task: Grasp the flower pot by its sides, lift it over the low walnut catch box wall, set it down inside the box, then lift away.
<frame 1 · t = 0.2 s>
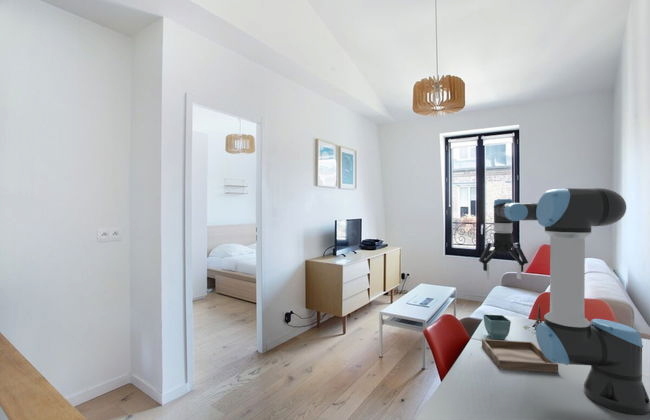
hand: (502, 278, 150), 26 cm above the table, fingers open, 13 cm apart
flower pot: (496, 337, 148), on the table
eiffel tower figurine: (538, 330, 158), on the table
catch box: (516, 358, 127), on the table
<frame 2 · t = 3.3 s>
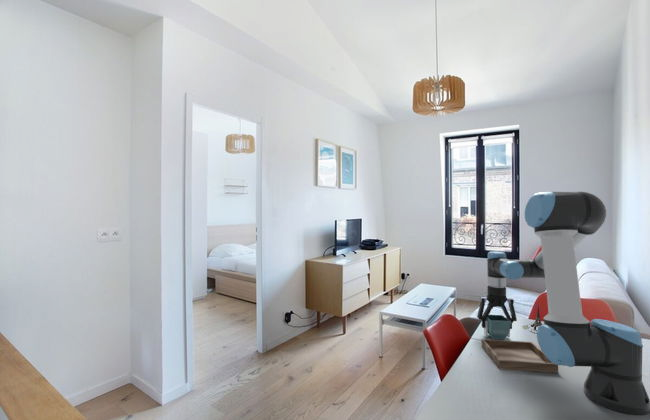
hand: (496, 335, 148), 1 cm above the table, fingers closed on flower pot, 9 cm apart
flower pot: (496, 337, 148), on the table, touching gripper
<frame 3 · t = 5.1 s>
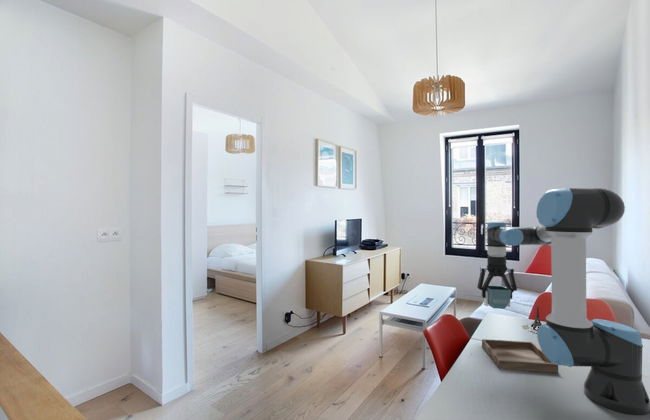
hand: (497, 305, 147), 15 cm above the table, fingers closed on flower pot, 9 cm apart
flower pot: (496, 307, 147), point 13 cm above the table, touching gripper
everything else where it was.
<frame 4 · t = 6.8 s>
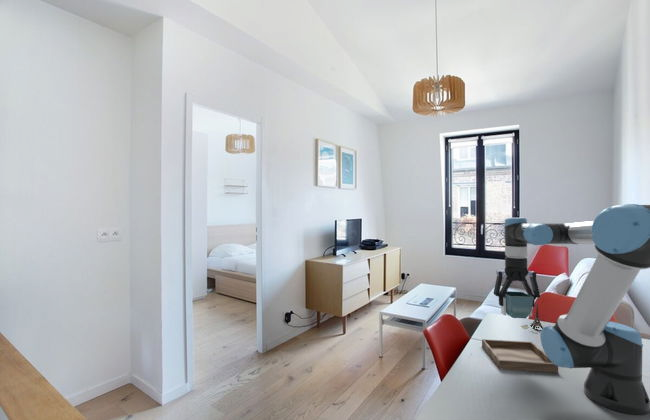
hand: (516, 314, 127), 17 cm above the table, fingers closed on flower pot, 9 cm apart
flower pot: (516, 317, 127), point 16 cm above the table, touching gripper
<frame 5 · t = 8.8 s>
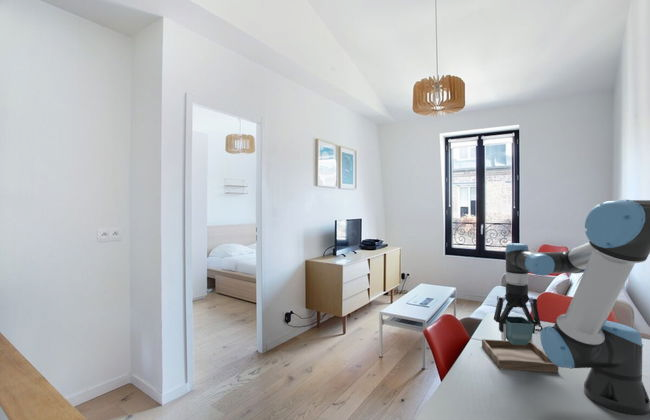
hand: (516, 340, 127), 7 cm above the table, fingers closed on flower pot, 9 cm apart
flower pot: (516, 343, 127), point 6 cm above the table, touching gripper
when the fingers open (4 cm above the table, at t = 10.4 s): flower pot drops 2 cm, resting on catch box.
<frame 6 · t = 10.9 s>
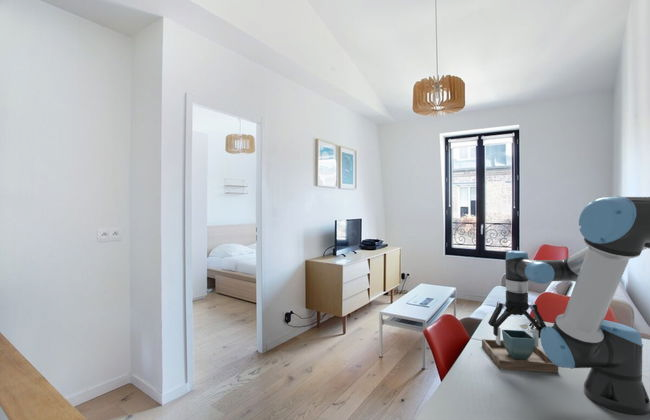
hand: (516, 345, 127), 5 cm above the table, fingers open, 13 cm apart
flower pot: (517, 357, 127), resting on catch box
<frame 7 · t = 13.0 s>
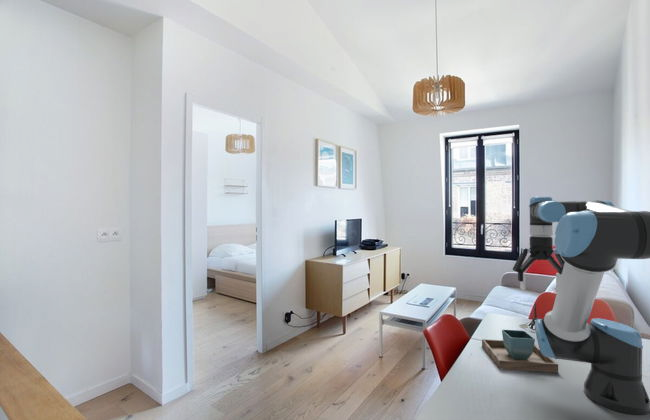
hand: (541, 290, 128), 26 cm above the table, fingers open, 13 cm apart
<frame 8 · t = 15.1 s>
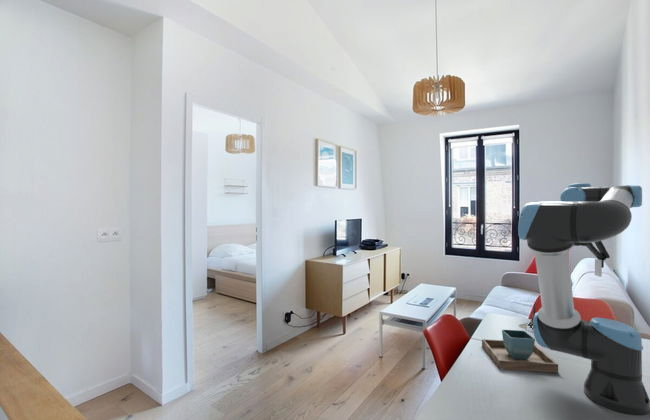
hand: (579, 275, 130), 32 cm above the table, fingers open, 13 cm apart
at the end: flower pot inside the target area on the catch box (0.4 cm from its centre), point 0.4 cm above the catch box's base; flower pot tilted 0°; the gripper is holding nothing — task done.
